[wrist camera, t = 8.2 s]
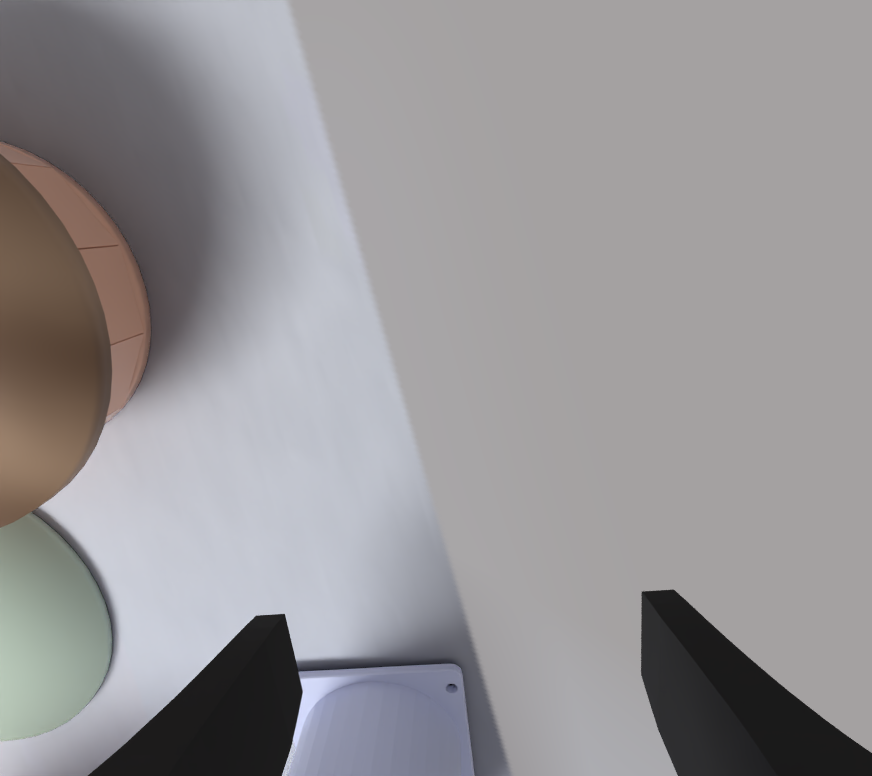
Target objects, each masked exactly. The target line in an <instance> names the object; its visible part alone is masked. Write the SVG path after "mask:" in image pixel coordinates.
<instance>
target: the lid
mask: <svg viewBox="0 0 872 776" xmlns="http://www.w3.org/2000/svg"><path fill="white" fill-rule="evenodd" d="M111 384H112V359H111V344H110V339H109V334H108V329H107V324H106V319H105V314H104V311H103V308H102V305H101V302H100V299H99V295H98V292H97V289H96V286H95V283H94V281H93V279H92V277H91V275H90V273H89V270H88V268H87V266H86V264H85V262H84V259H83V257H82V255H81V253H80V251H79V250H78V248H77V246H76V245H75V243H74V241H73V240H72V238H71V236H70V235H69V233H68V231H67V230H66V228H65V226H64V225H63V223H62V222H61V220H60V219H59V218H58V216H57V215H56V214H55V212H54V211H53V210H52V208H51V207H50V206H49V204H48V203H47V202H46V200H45V199H44V198H43V196H42V195H41V194H40V193H39V192H38V191H37V190H36V188H35V187H34V186H33V185H32V184H31V183H30V182H29V181H28V180H27V179H26V178H25V177H24V175H23V174H22V173H21V172H20V171H19V170H18V169H17V168H16V167H15V166H14V165H13V164H12V163H10V162H9V161H8V160H7V159H6V158H5V157H4V156H2V155H1V154H0V528H1V527H4V526H6V525H8V524H11V523H13V522H15V521H17V520H18V519H20V518H22V517H24V516H25V515H27V514H29V513H30V512H32V511H34V510H35V509H36V508H38V507H39V506H41V505H42V504H44V503H45V502H47V501H48V500H49V499H51V498H52V497H54V496H55V495H56V494H57V493H58V492H59V491H61V490H62V489H63V488H64V487H65V486H67V485H68V484H69V483H70V482H71V481H72V480H73V478H74V477H75V476H76V475H77V474H78V473H79V471H80V470H81V469H82V468H83V467H84V465H85V464H86V462H87V460H88V459H89V457H90V455H91V454H92V452H93V450H94V449H95V447H96V445H97V442H98V440H99V437H100V435H101V432H102V430H103V427H104V425H105V421H106V417H107V412H108V408H109V403H110V398H111Z"/></svg>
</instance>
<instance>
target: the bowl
mask: <svg viewBox="0 0 872 776" xmlns="http://www.w3.org/2000/svg"><path fill="white" fill-rule="evenodd" d="M0 154H1V155H2V156H4V157H5V158H6V159H7V160H8V161H9V162H10V163H12V164H13V165H14V166H15V167H16V168H17V169H18V170H19V171H20V172H21V173H22V174H23V175H24V177H25V178H26V179H27V180H28V181H29V182H30V183H31V184H32V185H33V186H34V187H35V188H36V190H37V191H38V192H39V193H40V194H41V195H42V196H43V198H44V199H45V200H46V202H47V203H48V204H49V206H50V207H51V208H52V210H53V211H54V212H55V214H56V215H57V216H58V218H59V219H60V220H61V222H62V223H63V225H64V226H65V228H66V230H67V231H68V233H69V235H70V236H71V238H72V240H73V241H74V243H75V245H76V246H77V248H78V250H79V251H80V253H81V255H82V257H83V259H84V262H85V264H86V266H87V268H88V270H89V273H90V275H91V277H92V279H93V281H94V283H95V286H96V289H97V292H98V295H99V299H100V302H101V305H102V308H103V311H104V314H105V319H106V324H107V329H108V334H109V339H110V344H111V359H112V384H111V398H110V403H109V408H108V412H107V417H106V421H105V423H107V422H108V421H110V420H111V419H112V418H113V417H114V416H115V415H116V414H117V413H118V412H120V411H121V410H122V409H123V407H124V406H125V405H126V403H127V402H128V401H129V400H130V398H131V397H132V396H133V394H134V392H135V390H136V388H137V387H138V385H139V383H140V381H141V378H142V376H143V373H144V370H145V367H146V364H147V359H148V354H149V349H150V339H151V319H150V307H149V302H148V297H147V292H146V288H145V284H144V281H143V278H142V275H141V272H140V269H139V266H138V264H137V262H136V260H135V258H134V256H133V254H132V251H131V249H130V247H129V245H128V244H127V242H126V240H125V239H124V237H123V235H122V234H121V232H120V231H119V229H118V227H117V226H116V224H115V223H114V222H113V221H112V219H111V218H110V217H109V215H108V214H107V213H106V211H105V210H104V209H103V208H102V206H101V205H100V204H99V203H98V202H97V201H96V200H95V199H94V198H93V197H92V196H91V195H90V194H89V193H88V192H87V191H86V190H85V189H84V188H83V187H82V186H80V185H79V184H78V183H77V182H76V181H74V180H73V179H72V178H71V177H70V176H68V175H67V174H66V173H64V172H63V171H61V170H60V169H58V168H57V167H55V166H54V165H52V164H51V163H49V162H48V161H46V160H44V159H42V158H40V157H38V156H36V155H34V154H32V153H30V152H28V151H27V150H24V149H21V148H18V147H16V146H13V145H10V144H8V143H5V142H1V141H0Z"/></svg>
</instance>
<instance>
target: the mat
mask: <svg viewBox="0 0 872 776" xmlns="http://www.w3.org/2000/svg"><path fill="white" fill-rule="evenodd" d="M111 655H112V631H111V623H110V618H109V614H108V611H107V607H106V604H105V601H104V599H103V596H102V594H101V592H100V590H99V587H98V585H97V583H96V582H95V580H94V578H93V577H92V575H91V573H90V571H89V570H88V568H87V567H86V565H85V564H84V563H83V561H82V560H81V559H80V557H79V556H78V555H77V554H76V552H75V551H74V550H73V549H72V548H71V547H70V546H69V544H68V543H67V542H66V541H65V540H64V539H63V538H62V537H61V536H60V535H59V534H58V533H57V532H56V531H54V530H53V529H52V528H51V527H50V526H49V525H48V524H46V523H45V522H44V521H43V520H42V519H40V518H39V517H38V516H36V515H35V514H33V513H32V512H30V513H29V514H27V515H25V516H24V517H22V518H20V519H18V520H17V521H15V522H13V523H11V524H8V525H6V526H4V527H1V528H0V741H9V740H19V739H24V738H29V737H33V736H38V735H40V734H43V733H46V732H49V731H51V730H54V729H56V728H57V727H59V726H61V725H63V724H65V723H67V722H68V721H69V720H71V719H72V718H73V717H75V716H76V715H77V714H79V713H80V712H81V710H82V709H83V708H84V707H85V706H86V705H87V704H88V703H89V702H90V701H91V699H92V698H93V697H94V695H95V694H96V692H97V691H98V689H99V688H100V686H101V684H102V683H103V681H104V678H105V676H106V673H107V671H108V669H109V664H110V659H111Z"/></svg>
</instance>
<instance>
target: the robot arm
mask: <svg viewBox="0 0 872 776" xmlns="http://www.w3.org/2000/svg"><path fill="white" fill-rule="evenodd" d="M641 636H642V637H641V639H642V640H641V642H642V643H641V644H642V645H641V646H642V647H641V675H642V678H643V682H644V685H645V688H646V692H647V695H648V698H649V701H650V704H651V708H652V711H653V714H654V717H655V720H656V723H657V727H658V730H659V732H660V735H661V737H662V739H663V742H664V744H665V746H666V749H667V751H668V754H669V756H670V758H671V760H672V763H673V765H674V767H675V770H676V772H677V775H678V776H872V753H871V752H869V751H868V750H866V749H865V748H863V747H862V746H861V745H859V744H858V743H856V742H855V741H854V740H852V739H851V738H849V737H848V736H846V735H845V734H844V733H842V732H841V731H840V730H838V729H837V728H835V727H834V726H833V725H831V724H830V723H829V722H827V721H826V720H825V719H823V718H822V717H821V716H820V715H818V714H817V713H816V712H814V711H813V710H812V709H810V708H809V707H808V706H807V705H805V704H804V703H803V702H802V701H800V700H799V699H798V698H796V697H795V696H794V695H793V694H791V693H790V692H789V691H787V689H785V688H784V687H783V686H782V685H780V684H779V683H778V682H777V681H776V680H774V679H773V678H772V677H771V676H770V675H768V674H767V673H766V672H765V671H764V670H763V669H761V668H760V667H759V666H758V665H757V664H756V663H754V662H753V661H752V660H751V659H750V658H748V657H747V656H746V655H745V654H744V653H743V652H742V651H741V650H739V649H738V648H737V647H736V646H735V645H734V644H733V643H732V642H730V641H729V640H728V639H727V638H726V637H725V636H724V635H723V634H722V633H720V632H719V631H718V630H717V629H716V628H715V627H714V626H713V625H712V624H711V623H709V622H708V621H707V620H706V619H705V618H704V617H703V616H702V615H701V614H700V613H699V612H698V611H696V610H695V609H694V608H693V607H692V606H691V605H690V604H689V603H688V602H687V601H686V600H685V599H684V598H682V597H681V596H680V595H679V594H678V593H677V592H676V591H675V590H661V591H645V592H642V634H641ZM448 684H455V685H453V686H451V685H448ZM292 741H293V742H294V746H295V753H294V757H293V760H292V763H291V766H290V770H289V773H288V776H475V774H474V766H473V757H472V749H471V741H470V732H469V724H468V716H467V708H466V699H465V691H464V683H463V674H462V670H461V668H460V667H459V666H457V665H455V664H431V665H413V666H394V667H376V668H357V669H339V670H321V671H302V672H298V668H297V664H296V660H295V656H294V651H293V647H292V643H291V639H290V634H289V630H288V626H287V622H286V617H285V614H276V615H260V616H255V617H254V618H253V619H252V620H251V621H250V622H249V623H248V624H247V625H246V626H245V627H244V628H243V629H242V630H241V631H240V632H239V633H238V634H237V635H236V636H235V637H234V638H233V639H232V640H231V641H230V642H229V644H228V645H227V646H226V647H225V648H224V649H223V650H222V651H221V652H220V653H219V654H218V655H217V656H216V657H215V658H214V659H213V660H212V661H211V662H210V663H209V664H208V665H207V666H206V667H205V668H204V669H203V670H202V671H201V672H200V673H199V674H198V675H197V676H196V677H195V678H194V679H193V680H192V681H191V682H190V683H189V684H188V685H187V686H186V687H185V688H184V689H183V690H182V691H181V692H180V693H179V694H178V695H177V696H176V697H175V698H174V699H173V700H172V701H171V702H170V703H169V704H168V705H167V706H165V707H164V708H163V709H162V710H161V711H160V712H159V713H158V714H157V715H156V716H155V717H154V718H153V719H151V720H150V721H149V722H148V723H147V724H146V725H145V726H144V727H143V728H142V729H141V730H140V731H139V732H138V733H136V734H135V735H134V736H133V737H132V738H131V739H130V740H129V741H128V742H127V743H126V744H124V745H123V746H122V747H121V748H120V749H119V750H118V751H117V752H115V753H114V754H113V755H112V756H111V757H110V758H108V759H107V760H106V761H105V762H104V763H103V764H101V765H100V766H99V767H98V768H97V769H95V770H94V771H93V772H92V773H90V774H89V775H88V776H282V773H283V770H284V767H285V764H286V761H287V758H288V755H289V752H290V749H291V745H292Z"/></svg>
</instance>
